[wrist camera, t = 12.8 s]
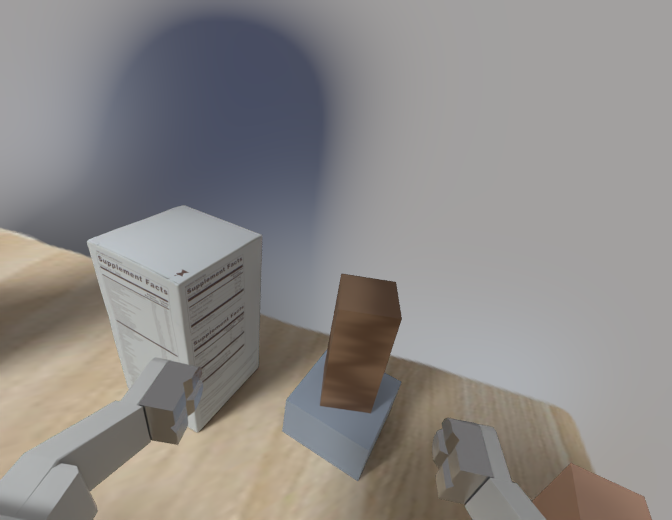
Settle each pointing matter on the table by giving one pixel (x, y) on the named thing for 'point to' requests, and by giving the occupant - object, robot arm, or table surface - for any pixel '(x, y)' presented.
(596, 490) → the terracotta post
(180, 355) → the supplement box
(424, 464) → the table surface
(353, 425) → the slate block
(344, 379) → the walnut post
